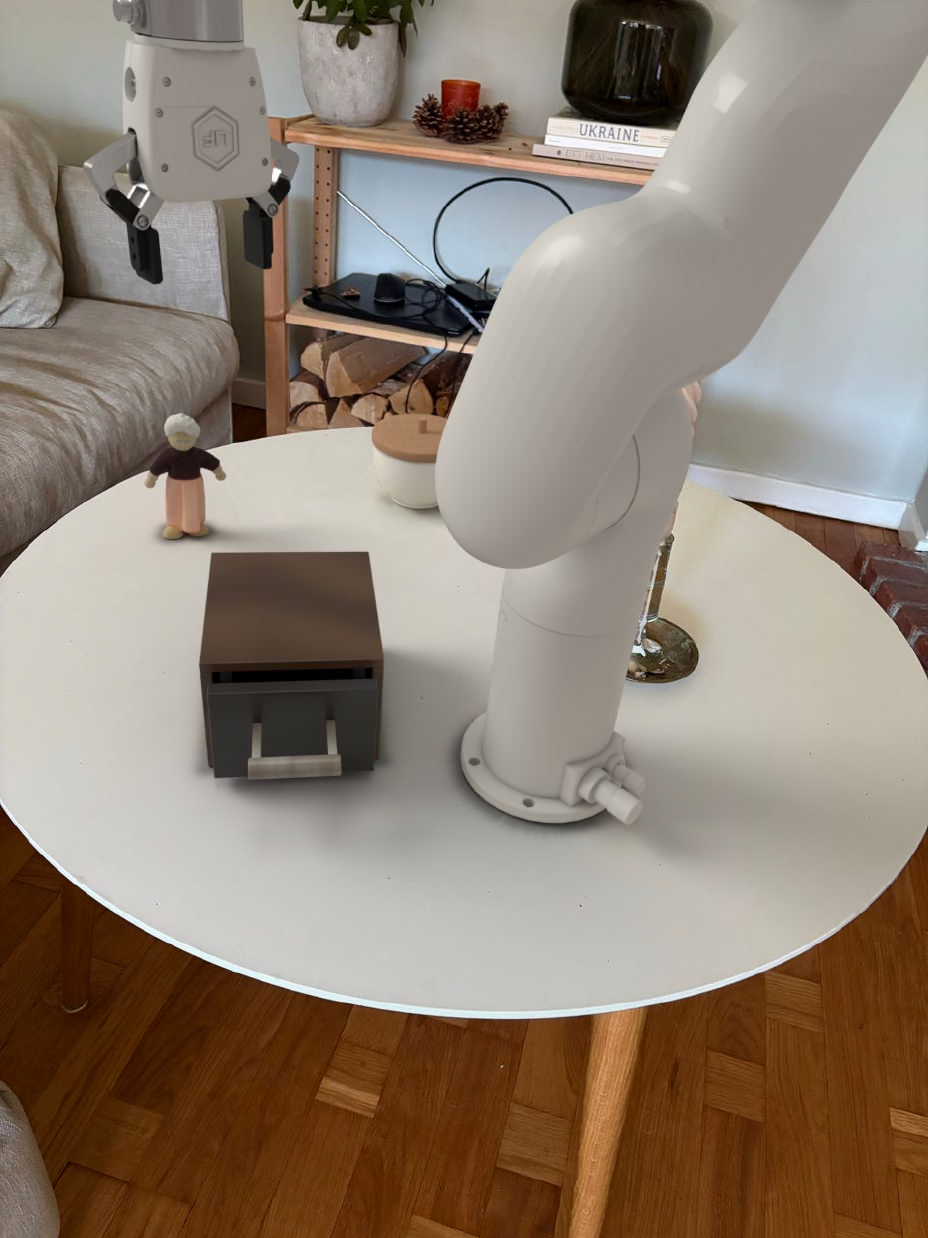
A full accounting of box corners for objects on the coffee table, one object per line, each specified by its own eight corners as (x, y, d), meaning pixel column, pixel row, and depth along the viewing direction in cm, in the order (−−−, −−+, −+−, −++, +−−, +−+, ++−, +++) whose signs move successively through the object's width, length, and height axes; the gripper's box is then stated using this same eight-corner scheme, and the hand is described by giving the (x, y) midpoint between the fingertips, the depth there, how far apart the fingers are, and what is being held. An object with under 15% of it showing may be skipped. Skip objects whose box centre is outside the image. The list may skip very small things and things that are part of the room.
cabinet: (379, 759, 73) (384, 658, 67) (208, 766, 70) (198, 663, 65) (365, 644, 84) (368, 551, 79) (218, 648, 82) (211, 552, 77)
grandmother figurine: (159, 547, 94) (146, 427, 87) (147, 529, 97) (134, 411, 90) (234, 532, 98) (227, 416, 91) (221, 515, 101) (213, 401, 93)
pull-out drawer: (379, 821, 66) (384, 737, 62) (210, 830, 64) (202, 744, 60) (361, 659, 81) (363, 582, 77) (223, 663, 79) (217, 583, 75)
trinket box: (360, 477, 110) (362, 400, 105) (449, 472, 114) (455, 397, 108) (381, 523, 102) (385, 442, 97) (476, 516, 105) (485, 437, 100)
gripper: (92, 22, 60) (125, 299, 69) (322, 30, 70) (322, 271, 79) (42, 10, 64) (80, 273, 74) (265, 20, 74) (272, 249, 84)
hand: (205, 272), depth 77 cm, fingers open, 9 cm apart
